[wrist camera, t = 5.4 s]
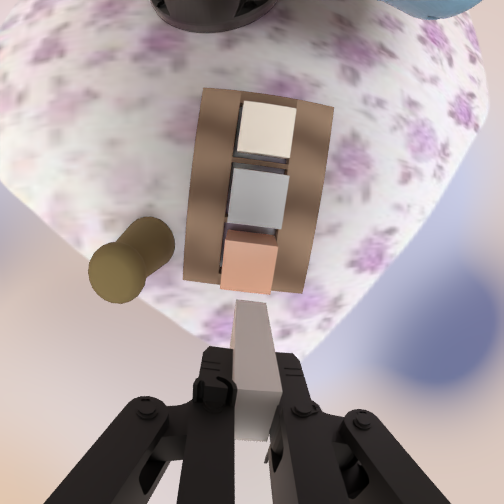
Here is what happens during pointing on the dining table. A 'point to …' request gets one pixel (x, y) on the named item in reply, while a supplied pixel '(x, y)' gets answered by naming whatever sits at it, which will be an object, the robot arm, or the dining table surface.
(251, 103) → the cream cube
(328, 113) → the wooden slotted tray
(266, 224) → the key slate
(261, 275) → the key terracotta
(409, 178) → the dining table surface
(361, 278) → the dining table surface
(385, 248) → the dining table surface
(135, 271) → the pepper shaker
